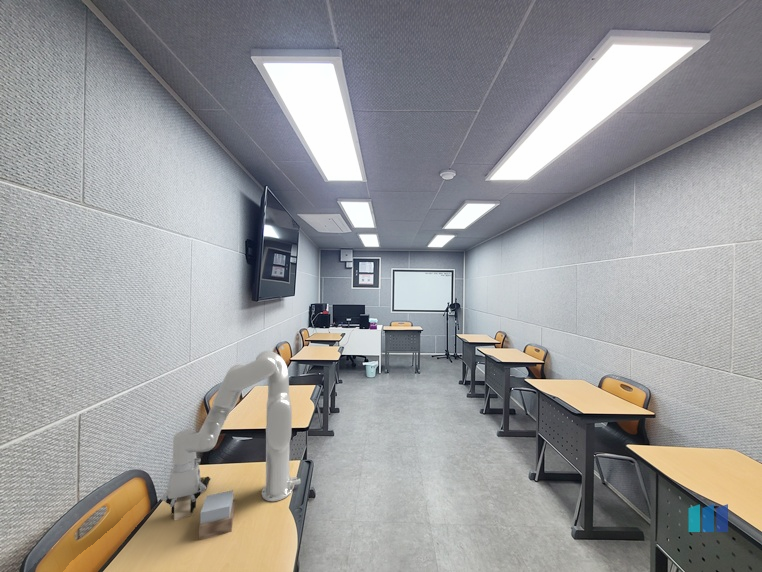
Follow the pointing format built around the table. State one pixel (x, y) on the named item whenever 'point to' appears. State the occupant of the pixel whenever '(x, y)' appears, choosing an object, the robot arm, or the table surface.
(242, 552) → the table surface
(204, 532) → the bottom block
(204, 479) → the tape measure
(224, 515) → the top block
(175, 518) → the beech block
